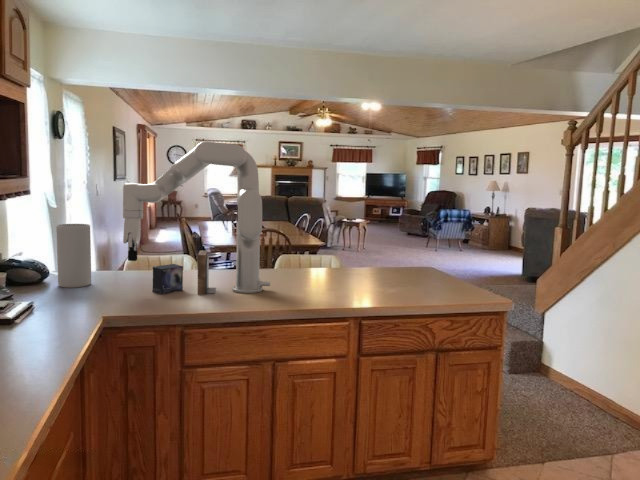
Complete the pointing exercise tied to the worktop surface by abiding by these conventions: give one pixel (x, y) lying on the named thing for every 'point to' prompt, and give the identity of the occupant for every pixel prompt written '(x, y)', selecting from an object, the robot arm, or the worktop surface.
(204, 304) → the worktop surface
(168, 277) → the small box
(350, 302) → the worktop surface
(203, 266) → the walnut block
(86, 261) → the cylinder vase
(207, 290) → the metal bookend
